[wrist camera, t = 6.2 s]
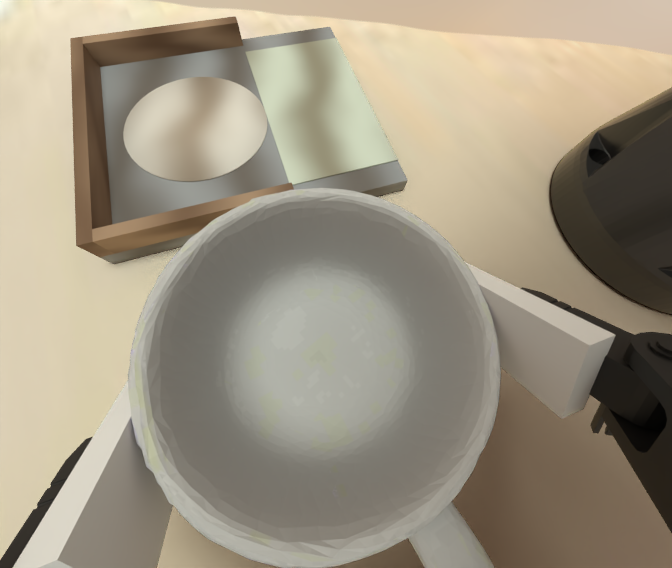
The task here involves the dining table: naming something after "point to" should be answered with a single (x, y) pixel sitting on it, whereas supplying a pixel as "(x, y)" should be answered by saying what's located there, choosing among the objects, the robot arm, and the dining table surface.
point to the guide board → (211, 130)
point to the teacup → (317, 382)
